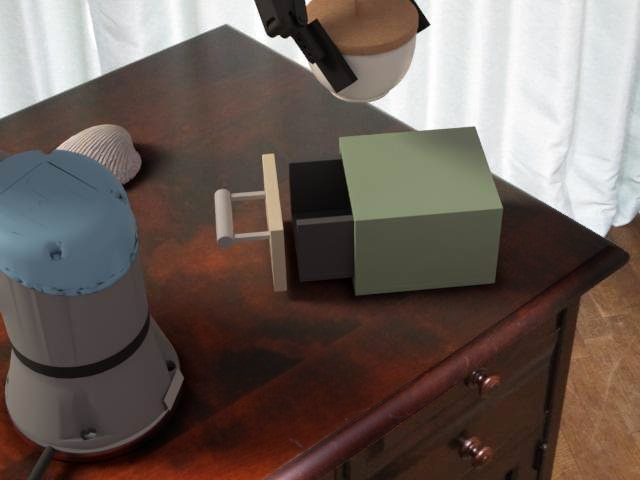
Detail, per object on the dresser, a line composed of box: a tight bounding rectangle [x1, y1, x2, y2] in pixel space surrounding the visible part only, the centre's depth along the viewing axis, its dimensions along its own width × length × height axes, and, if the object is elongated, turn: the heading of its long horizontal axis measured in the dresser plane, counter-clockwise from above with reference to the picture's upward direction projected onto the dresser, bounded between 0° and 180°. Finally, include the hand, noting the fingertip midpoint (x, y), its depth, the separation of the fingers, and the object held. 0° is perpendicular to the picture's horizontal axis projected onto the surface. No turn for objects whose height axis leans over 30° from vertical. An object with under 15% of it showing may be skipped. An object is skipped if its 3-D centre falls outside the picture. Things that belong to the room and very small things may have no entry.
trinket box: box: [306, 0, 419, 104], centre depth 107 cm, size 11×11×9 cm
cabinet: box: [338, 125, 504, 296], centre depth 112 cm, size 14×13×10 cm
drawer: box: [213, 153, 354, 293], centre depth 111 cm, size 18×11×8 cm, turn 96°
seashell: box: [56, 123, 142, 185], centre depth 125 cm, size 10×6×10 cm
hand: (384, 58), depth 106 cm, fingers closed on trinket box, 11 cm apart
